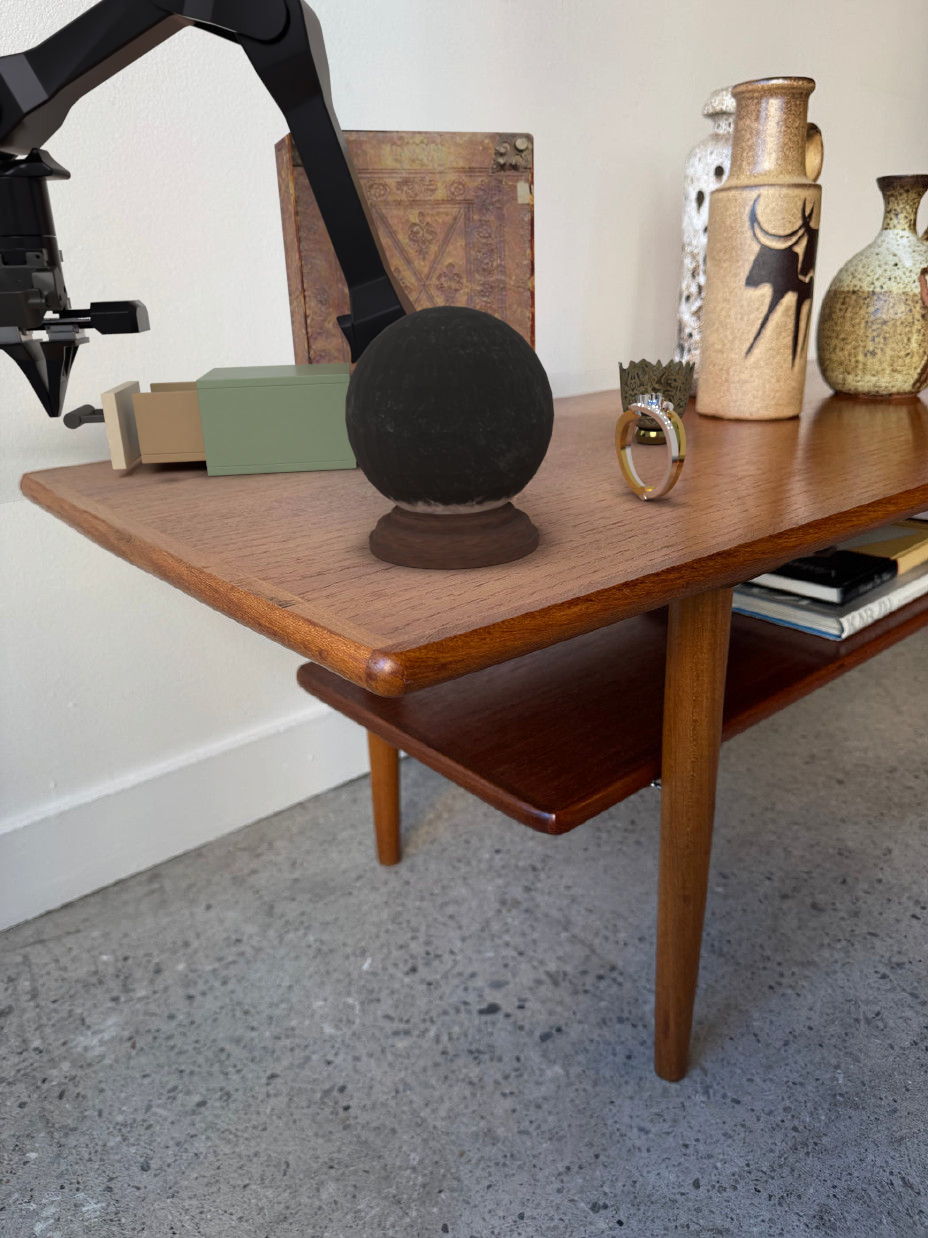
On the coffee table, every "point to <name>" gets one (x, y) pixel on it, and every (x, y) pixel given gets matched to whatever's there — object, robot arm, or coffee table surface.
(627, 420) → the ring
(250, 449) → the cabinet
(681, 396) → the cup
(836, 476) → the coffee table surface
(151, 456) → the drawer
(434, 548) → the black ball on stand
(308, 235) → the book
